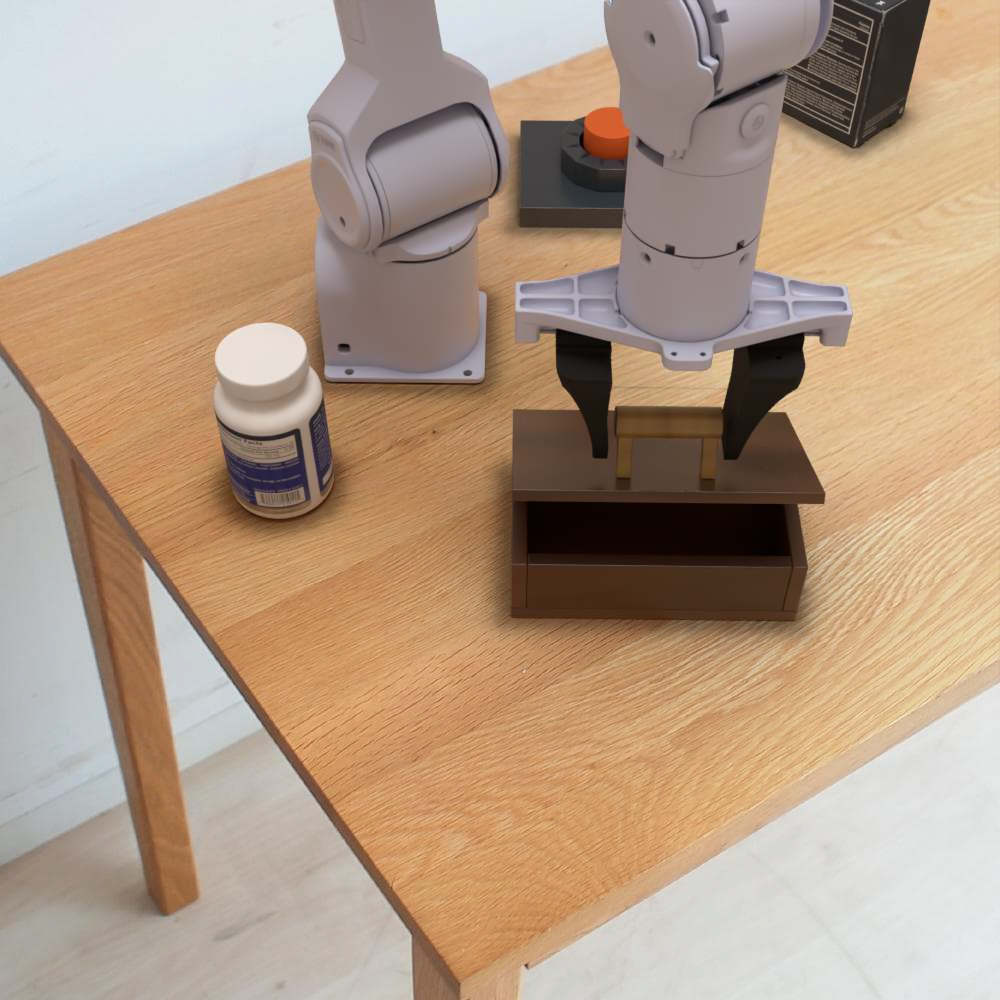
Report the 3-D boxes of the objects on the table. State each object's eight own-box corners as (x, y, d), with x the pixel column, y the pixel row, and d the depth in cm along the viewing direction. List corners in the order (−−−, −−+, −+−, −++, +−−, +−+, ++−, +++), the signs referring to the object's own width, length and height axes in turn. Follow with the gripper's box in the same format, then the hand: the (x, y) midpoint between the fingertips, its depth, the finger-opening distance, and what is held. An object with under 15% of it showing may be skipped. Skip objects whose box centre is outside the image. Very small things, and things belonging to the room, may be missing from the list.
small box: (909, 115, 104) (942, -21, 96) (855, 151, 101) (885, 14, 93) (792, 57, 109) (815, -76, 101) (737, 91, 106) (756, -44, 98)
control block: (519, 228, 95) (520, 184, 93) (520, 140, 102) (520, 97, 99) (701, 230, 95) (707, 186, 93) (690, 142, 102) (695, 98, 99)
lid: (824, 504, 67) (833, 422, 66) (511, 501, 67) (512, 419, 66) (785, 422, 77) (791, 348, 76) (512, 419, 77) (513, 346, 76)
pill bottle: (283, 432, 83) (262, 299, 75) (356, 479, 80) (341, 346, 73) (210, 489, 80) (180, 357, 73) (283, 540, 78) (260, 408, 70)
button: (583, 160, 95) (585, 137, 94) (582, 129, 98) (583, 106, 96) (638, 161, 95) (640, 138, 94) (635, 129, 97) (637, 107, 96)
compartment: (795, 620, 74) (808, 568, 71) (510, 617, 74) (511, 564, 71) (773, 475, 81) (784, 421, 77) (512, 473, 81) (512, 418, 78)
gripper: (515, 276, 57) (512, 504, 67) (885, 279, 57) (826, 508, 67) (516, 169, 61) (513, 398, 72) (858, 172, 61) (807, 401, 71)
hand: (664, 444), depth 69 cm, fingers open, 6 cm apart
